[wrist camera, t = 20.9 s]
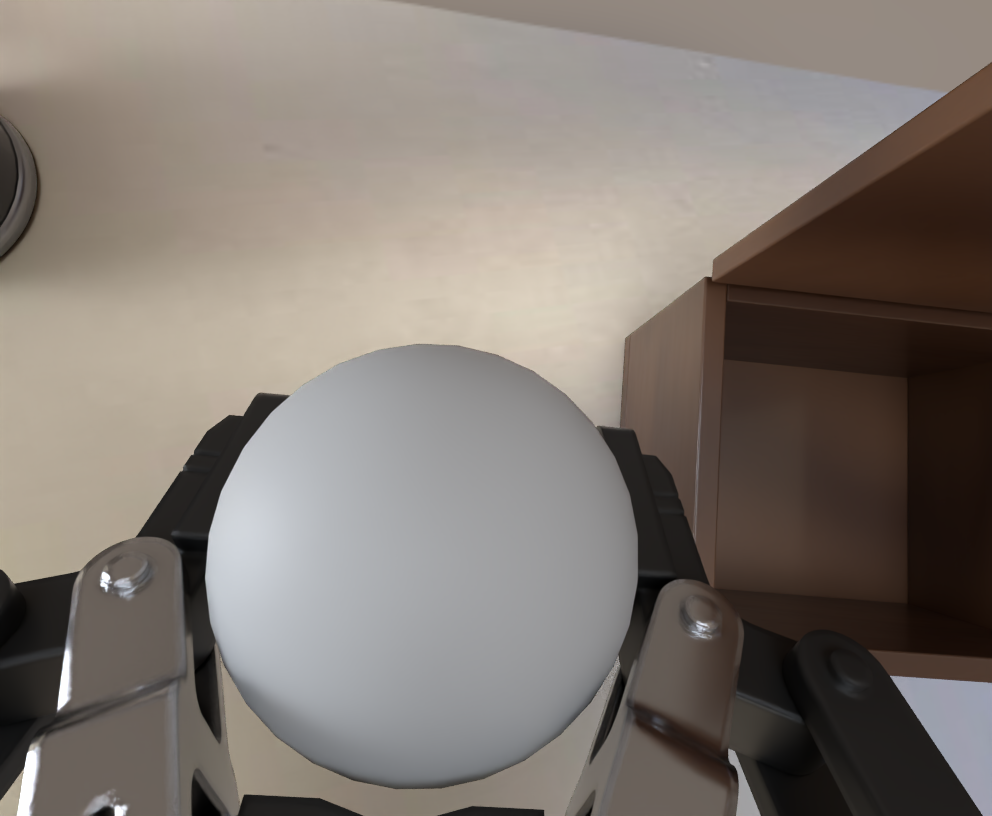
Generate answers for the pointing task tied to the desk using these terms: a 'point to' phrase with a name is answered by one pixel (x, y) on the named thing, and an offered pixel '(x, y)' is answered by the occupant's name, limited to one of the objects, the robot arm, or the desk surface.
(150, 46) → the desk surface
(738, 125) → the desk surface
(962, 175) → the lid
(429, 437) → the lightbulb
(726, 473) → the chest
